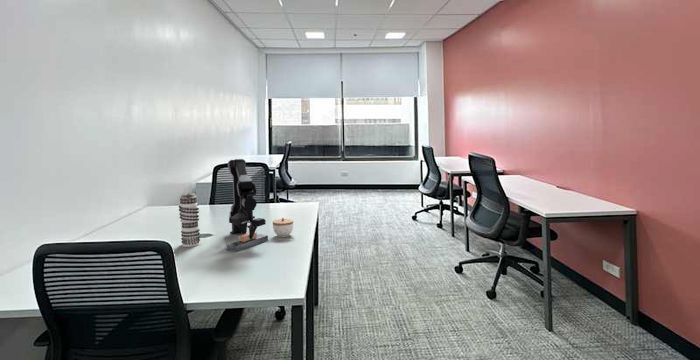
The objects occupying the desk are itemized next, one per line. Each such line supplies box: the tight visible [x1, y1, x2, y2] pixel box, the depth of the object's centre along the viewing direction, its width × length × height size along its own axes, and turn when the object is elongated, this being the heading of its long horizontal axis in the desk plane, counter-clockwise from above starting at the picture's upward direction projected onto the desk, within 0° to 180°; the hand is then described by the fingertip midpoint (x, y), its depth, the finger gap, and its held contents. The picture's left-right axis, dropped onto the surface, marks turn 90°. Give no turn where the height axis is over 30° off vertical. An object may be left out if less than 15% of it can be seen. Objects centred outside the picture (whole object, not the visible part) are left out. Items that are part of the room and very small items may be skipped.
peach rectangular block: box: [238, 231, 258, 242], centre depth 205 cm, size 3×9×6 cm, turn 150°
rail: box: [225, 233, 269, 252], centre depth 205 cm, size 6×22×2 cm, turn 150°
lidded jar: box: [272, 217, 294, 238], centre depth 221 cm, size 11×11×9 cm
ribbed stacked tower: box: [178, 192, 201, 248], centre depth 206 cm, size 9×9×25 cm
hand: (247, 238), depth 205 cm, fingers open, 4 cm apart
